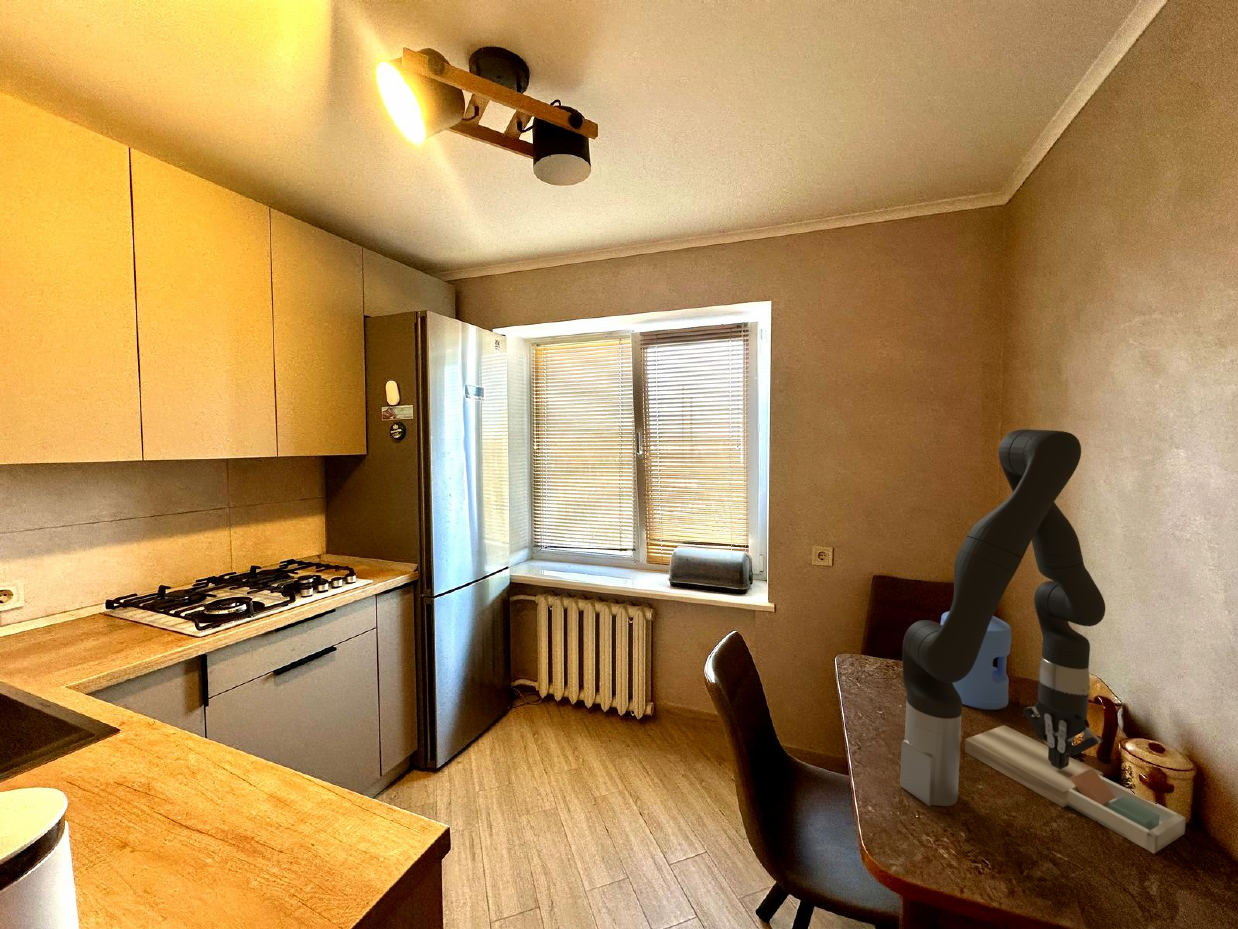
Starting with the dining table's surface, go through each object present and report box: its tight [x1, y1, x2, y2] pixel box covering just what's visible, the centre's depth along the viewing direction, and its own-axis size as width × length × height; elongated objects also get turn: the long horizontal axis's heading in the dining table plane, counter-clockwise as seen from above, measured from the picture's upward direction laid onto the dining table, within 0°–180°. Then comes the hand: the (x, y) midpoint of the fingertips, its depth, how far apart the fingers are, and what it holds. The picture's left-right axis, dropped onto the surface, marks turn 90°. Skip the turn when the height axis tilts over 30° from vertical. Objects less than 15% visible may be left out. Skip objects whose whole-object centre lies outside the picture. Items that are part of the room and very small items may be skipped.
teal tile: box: [1108, 797, 1160, 830], centre depth 91 cm, size 5×5×2 cm
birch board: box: [964, 724, 1104, 808], centre depth 105 cm, size 14×18×3 cm
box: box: [1067, 775, 1187, 854], centre depth 92 cm, size 11×12×3 cm
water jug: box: [940, 610, 1012, 711], centre depth 135 cm, size 16×16×28 cm
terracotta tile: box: [1069, 767, 1116, 805], centre depth 95 cm, size 5×5×2 cm
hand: (1058, 766), depth 101 cm, fingers closed
